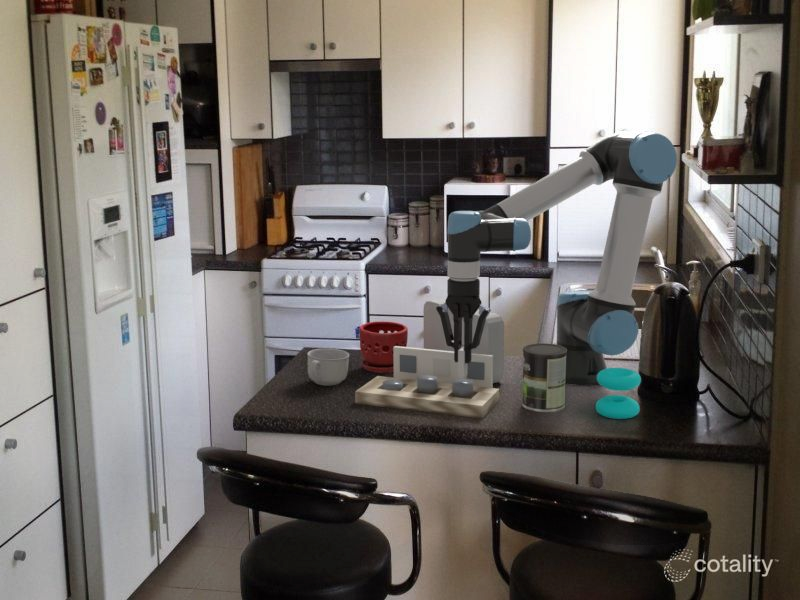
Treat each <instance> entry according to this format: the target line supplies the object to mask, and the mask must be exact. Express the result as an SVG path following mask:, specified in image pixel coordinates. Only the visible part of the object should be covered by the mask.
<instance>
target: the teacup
mask: <svg viewBox="0 0 800 600" xmlns="http://www.w3.org/2000/svg"><path fill="white" fill-rule="evenodd" d="M306 355H307V374H308V376H309V379H310V380H312V381H313V382H314V383H315V384H317V385H319V386H328V387H330V386H337V385H339V384H341V383H342V382H343V381H345V380H346V378H347V376H348V371H349V360H350V353H349V352H348V351H345V350H342V349H337V348H316V349H312V350H309V351H308V352H307V353H306Z"/></svg>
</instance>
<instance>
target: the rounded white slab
mask: <svg viewBox="0 0 800 600" xmlns="http://www.w3.org/2000/svg"><path fill="white" fill-rule="evenodd" d="M445 301H446V298H440V299H433V300H428V301H427V300H426V301H425V303H424V304H423V349H433V350H443V351H454V348H453V347H451V346H447V344H446V340H445V335H444V331H443V326H442V322H441V317H440V315H439V313H438V312H437V310H436V307H438V306H439V305H441V304H444V303H445ZM447 312H448V315H449V319H450V323H451V328H452V332H453V337H454V321H453V314H452V312H451V311H450V309H449V308H448V311H447ZM479 316H480V315H479V309H478V310H477V311H476V313H475V314H474V315H473V320H472V342H473V338H474V334H475V330H476V326H477V322H478V319H479ZM504 321H505V320H504V319H503V317H502V316H501V314H499V313H495V312H492V311H491V312H490V313H489V315H488V316H487V317H486V321H485V325H484V329H483V333H482V336H481V340H480V344H479V346H478V347H476V348H475V349H472V351H471V353H475V354H486V355H493V384H495V383H500V382H501V381H502V380H503V379H504V375H505V373H504V371H505V370H504V369H505V367H504V366H505V322H504ZM462 344H463V345H462V346H461V348H464V318H462Z"/></svg>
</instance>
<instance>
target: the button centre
mask: <svg viewBox="0 0 800 600" xmlns="http://www.w3.org/2000/svg"><path fill="white" fill-rule="evenodd" d="M417 391H418V392H421V393H434V392H437V391H438V378H437V377H436V376H431V375H423V376H419V377H417Z"/></svg>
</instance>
